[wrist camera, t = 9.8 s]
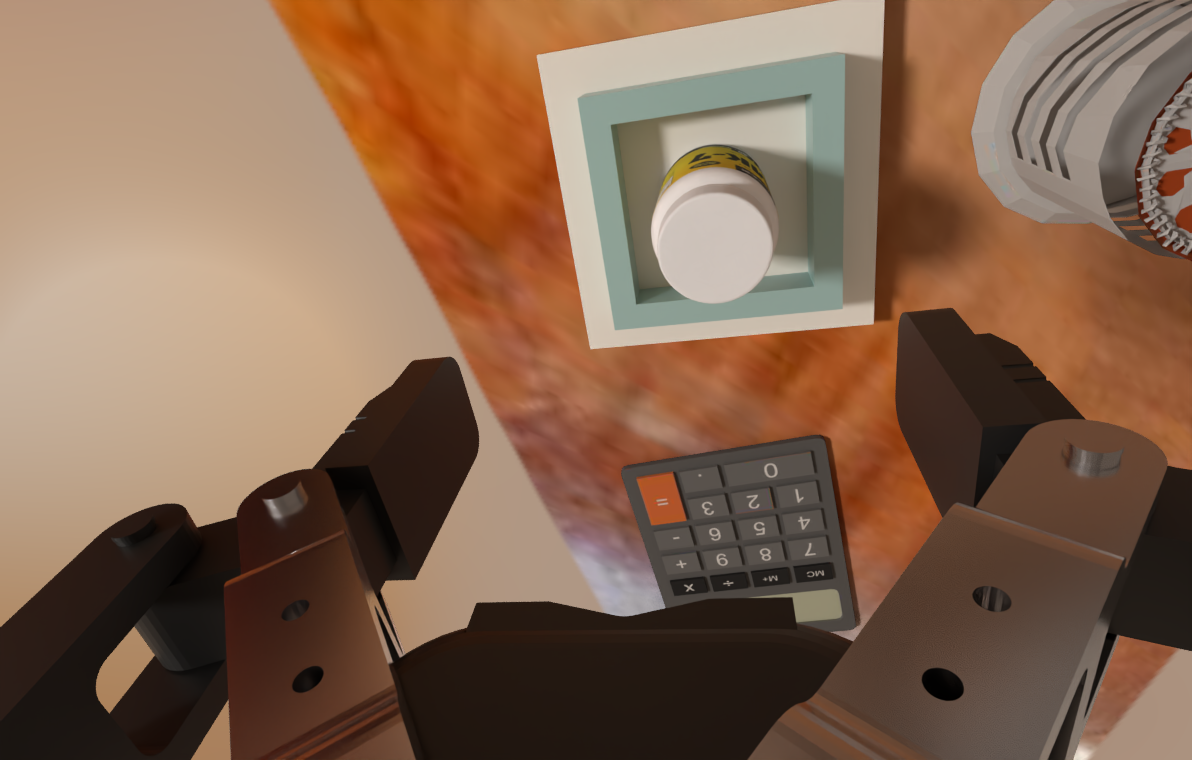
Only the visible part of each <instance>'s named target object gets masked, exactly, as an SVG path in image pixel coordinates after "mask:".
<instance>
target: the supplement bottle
mask: <svg viewBox="0 0 1192 760" xmlns="http://www.w3.org/2000/svg"><path fill="white" fill-rule="evenodd" d="M778 234H779V218H778V212H777V209H776V206H775V202H774V200H773V198H772V195H771V193H770V190H769V187H768V185H767V182H766V179H765V177H764V175H763V173H762V171H761V169H760V167H759V166H758V164H757V163H756V162H755V161H754V160H753V159H752V158H751V157H750V156H749V155H748V154H747V153H745V152H743V151H742V150H740V149H738V148H735V147H732V146H728V145H723V144H709V145H703V146H699V147H697V148H694V149H692V150H690V151H688V152H687V153H685V154H684V155H682V156H681V157H680V158H679V159H678V160H677V161H676V162H675V163H674V164H673V165H672V167H671V168H670V169H669V171H668V173H667V174H666V176H665V179H664V181H663V184H662V187H661V191H660V194H659V197H658V200H657V204H656V207H655V210H654V213H653V217H652V224H651V238H652V244H653V248H654V251H655V254H656V256H657V259H658V261H659V265H660V268H661V271H662V273H663V275H664V277H665V278H666V280H667V281H668V283H669V284H670V285H671V286H672V287H673V288H674V289H675V290H676V291H678V292H679V293H680V294H682V295H683V296H685V297H687V298H689V299H691V300H694V301H697V302H701V303H708V304H718V303H725V302H729V301H733V300H735V299H738V298H740V297H742V296H744V295H745V294H747V293H749V292H750V291H751V290H752V289H754V288H755V287H756V286H757V285H758V284H759V283H760V281H761V280H762V279H763V277H764V276H765V274H766V272H767V271H768V269H769V266H770V264H771V260H772V256H773V252H774V250H775V247H776V244H777V240H778Z"/></svg>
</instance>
